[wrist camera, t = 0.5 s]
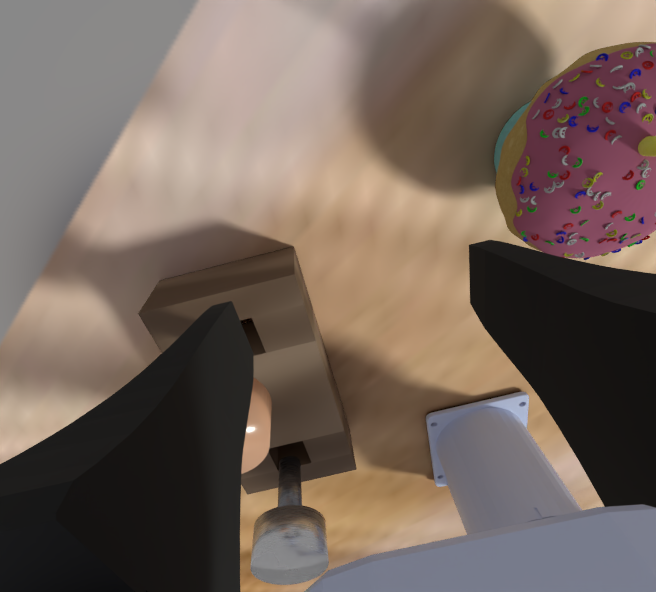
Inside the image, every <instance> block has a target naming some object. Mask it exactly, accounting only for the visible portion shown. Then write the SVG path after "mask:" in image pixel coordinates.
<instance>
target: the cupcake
mask: <svg viewBox="0 0 656 592" xmlns="http://www.w3.org/2000/svg"><path fill="white" fill-rule="evenodd" d="M494 165H495V170H496V173H497V175H496V182H495V188H496V195H497V198H498V202H499V205H500V208H501V210H502V213H503V215H504V217H505V220H506V224H507V227H508V229H509V230H510V231H511V232H512V233H513V234H514V235H515V236H517V237H518V238H520V239H521V240H523V241H524V242H525V243H526V244H528V245H529V246H531V247H533V248H535V249H537V250H539V251H542V252H544V253H547V254H551V255H555V256H559V257H563V258H565V257H568V258H584V260H587V259H589V258H590V257H594V256H599V255H601V256H605V255H607V254H608V253H610V252H612V253H616V252H619V251H621V248H623V247H626V246H628V247H630V246H632V245H634V244H640V243H642V240H646V239H648V238H650V236H648V235H649V234H651V233H652V232H654V231H655V230H656V43H654V42H633V43H626V44H620V45H615V46H610V47H606V48H601V49H597V50H594V51H591V52H589V53H587V54H585V55H583V56H582V57H580V58H579V59H578V60H576V61H575V62H574V63H573V64H572V65H570V66H569V67H568V68H567V69H565V70H564V71H563V72H561V73H560V74H558V75H557V76H555V77H554V78H552V79H551V80H549V81H547V82H546V83H545V84H544V85H543V86H542V87H541V88H540V89H539V90H538V91H537V93H536V94H535V96H534V98H533V99H532V101H530V102H529V103H527V104H525V105H524V106H523V107H521V108H520V109H519V110H518V111H517V112H515V113H514V114H513V116H512V117H511V118H510V119H509V120H508V122H507V123H506V124H505V126H504V128H503V129H502V131H501V133H500V135H499V137H498V140H497V143H496V147H495V153H494ZM646 237H647V238H646ZM643 238H644V239H643ZM639 241H640V242H639ZM637 242H638V243H637ZM616 250H618V251H616Z"/></svg>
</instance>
